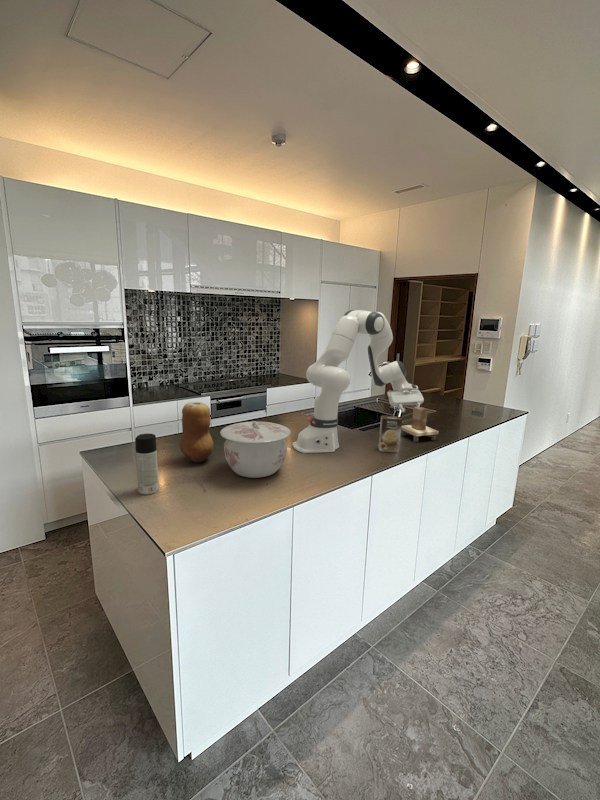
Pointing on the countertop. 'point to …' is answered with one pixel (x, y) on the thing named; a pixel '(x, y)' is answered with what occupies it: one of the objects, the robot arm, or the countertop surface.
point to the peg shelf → (418, 432)
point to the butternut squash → (196, 432)
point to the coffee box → (390, 433)
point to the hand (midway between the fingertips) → (411, 411)
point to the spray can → (146, 463)
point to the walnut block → (419, 418)
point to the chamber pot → (255, 447)
